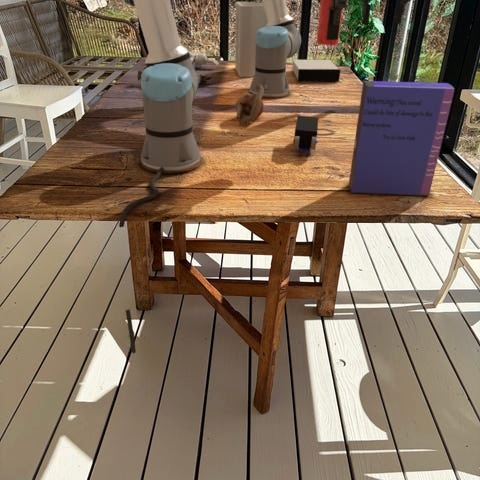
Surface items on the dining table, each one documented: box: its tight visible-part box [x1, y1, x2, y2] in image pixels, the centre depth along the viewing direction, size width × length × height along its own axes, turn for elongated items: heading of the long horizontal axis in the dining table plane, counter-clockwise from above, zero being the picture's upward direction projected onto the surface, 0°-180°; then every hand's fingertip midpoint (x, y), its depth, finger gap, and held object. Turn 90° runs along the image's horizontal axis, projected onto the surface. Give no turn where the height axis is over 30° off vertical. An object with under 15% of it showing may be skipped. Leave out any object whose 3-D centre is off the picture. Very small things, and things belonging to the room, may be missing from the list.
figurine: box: [137, 70, 213, 85], centre depth 194 cm, size 24×8×30 cm
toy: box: [189, 51, 220, 69], centre depth 224 cm, size 24×25×7 cm
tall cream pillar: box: [234, 1, 267, 78], centre depth 210 cm, size 19×15×28 cm
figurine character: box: [292, 115, 319, 156], centre depth 131 cm, size 7×8×15 cm
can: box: [315, 0, 343, 46], centre depth 118 cm, size 6×6×10 cm
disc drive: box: [292, 59, 341, 83], centre depth 211 cm, size 18×22×5 cm
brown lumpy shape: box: [234, 84, 265, 127], centre depth 152 cm, size 13×9×15 cm
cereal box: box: [348, 80, 455, 197], centre depth 104 cm, size 17×5×24 cm, turn 86°
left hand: (327, 37), depth 119 cm, fingers closed on can, 5 cm apart
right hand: (381, 24), depth 171 cm, fingers open, 13 cm apart
